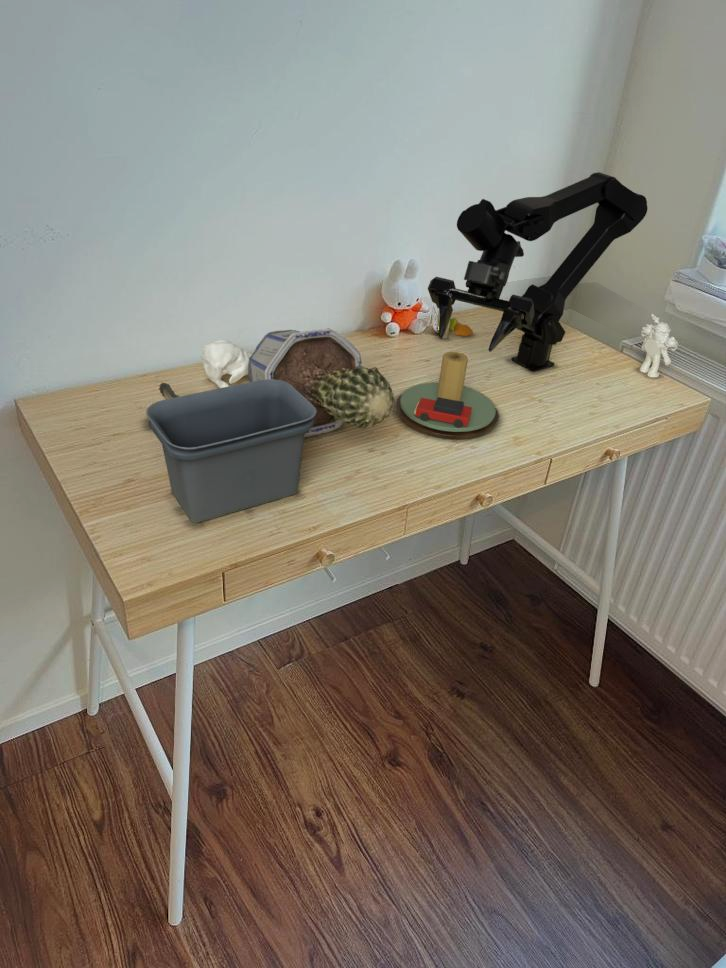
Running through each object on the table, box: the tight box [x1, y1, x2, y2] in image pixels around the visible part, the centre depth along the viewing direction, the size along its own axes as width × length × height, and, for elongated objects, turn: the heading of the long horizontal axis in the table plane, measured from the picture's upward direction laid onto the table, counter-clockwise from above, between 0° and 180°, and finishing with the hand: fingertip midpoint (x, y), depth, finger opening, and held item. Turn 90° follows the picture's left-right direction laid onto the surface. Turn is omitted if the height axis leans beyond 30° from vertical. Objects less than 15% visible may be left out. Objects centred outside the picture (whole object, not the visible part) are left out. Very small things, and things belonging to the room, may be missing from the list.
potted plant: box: [247, 327, 396, 438], centre depth 123 cm, size 18×18×30 cm
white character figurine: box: [639, 313, 679, 378], centre depth 155 cm, size 9×4×12 cm, turn 24°
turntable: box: [400, 351, 497, 432], centre depth 134 cm, size 17×17×10 cm
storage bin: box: [145, 379, 317, 523], centre depth 109 cm, size 21×16×14 cm
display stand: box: [395, 393, 500, 441], centre depth 138 cm, size 18×18×1 cm
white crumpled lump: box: [200, 339, 253, 389], centre depth 139 cm, size 6×8×12 cm
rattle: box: [436, 309, 474, 340], centre depth 163 cm, size 8×8×12 cm
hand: (464, 344), depth 135 cm, fingers open, 9 cm apart
